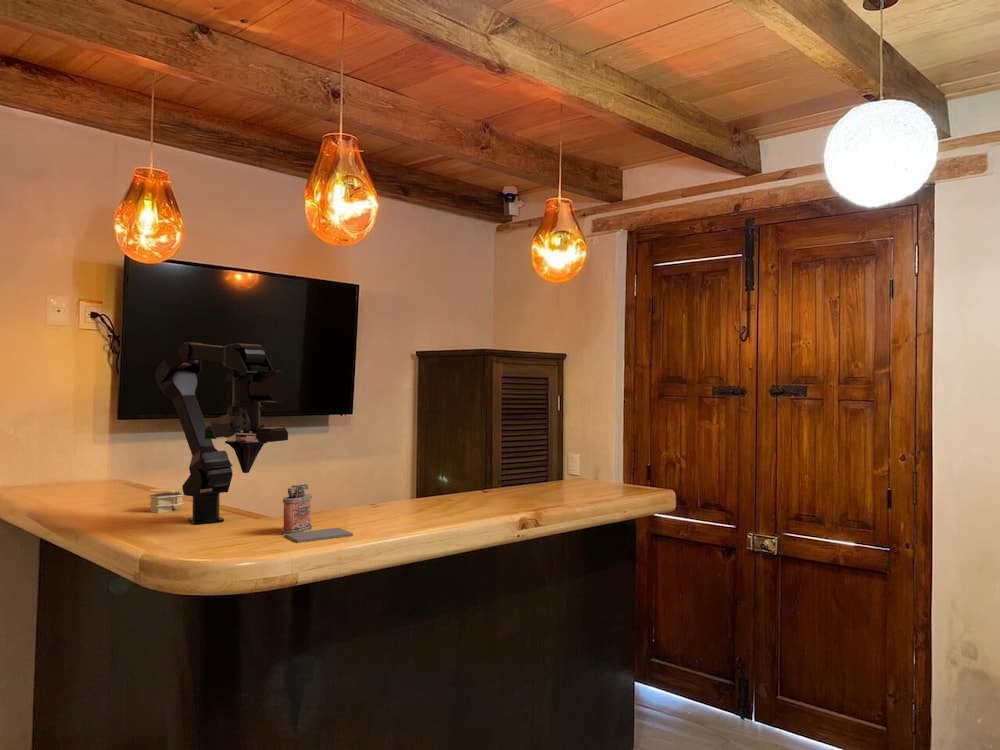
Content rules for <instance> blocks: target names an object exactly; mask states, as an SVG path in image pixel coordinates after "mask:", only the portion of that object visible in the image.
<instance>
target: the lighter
mask: <svg viewBox="0 0 1000 750" xmlns="http://www.w3.org/2000/svg"><path fill="white" fill-rule="evenodd" d="M306 490H307V491H308V490H309V484H308V483H301V484H292V485H291V487H287V494H288V496H287V497H283V498H282V503H283V529H282V535H283V534H290V533H298V532H304V531H307V530H308V531H311V530H312V523H311V518H312V517H311V513H312V511H311V509H312V507H311V506H312V505H311V504H312V497H313V495H312V494H311V493H305V492H306ZM310 529H311V530H310Z"/></svg>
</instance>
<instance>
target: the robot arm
mask: <svg viewBox="0 0 1000 750" xmlns="http://www.w3.org/2000/svg"><path fill="white" fill-rule="evenodd" d="M186 361H191V362H190V363H187V362H186ZM203 362H212V363H220V364H223V365H224V366H225V367H227V368H228V369H231V370H232V371H231V373H229V374H228V375H227V376H226V380H227V381H232V405H227V407H228V408H227V410H226V414H224V415H221V416H219V417H217V418H215V419H214V420H212V421H210V425H208V426H207V423H206V422H205V418H204V415H203V412H202V409H201V408H200V405H199V402H198V399H197V397H196V396H197V395H196V389H197V387H198V376H199V375H200V373H201V372H202V370H203V366H202V365H203V364H202V363H203ZM154 373H155V374H154V377H155V378H154V379H155V381H156V383H157V385H158V387H159V389H160V390H161V392H162V393H163V394H164V395H165V396H166V397H168V399H170V400H171V401H172V402H173V405H174V408H175V411H176V413H177V416H178V419H179V420H178V421H180V425H181V427H182V430H183V433H184V435H185V439H186V442H187V444H188V448H189V450H190V453H191V459H190V463H189V467H188V470H189V475H188V477H187V479H186V480H185V482H184V483H183V484H182V486H181V488H182V489H183V490H182V493H184V495H183V496H187V497H192V514H191V515H192V516H191V517H189V516H188V517H187V520H188V522H191V523H192V524H193V525H194V524H195V525H199V524H201V525H202V524H210V523H218V522H219V523H220V522H224V521H225V518H223V517H221V516H220V496H221V495H220V494H222V493H225V494H226V493H229V489H230V486H231V482H232V478H233V470H232V467H233V464H232V463H231V461H230V458H229V454H228V453H227V451H226V450H218V449H216V448H215V445H214V443H213V442H214V441H213V440H216V439H217V438H226V440H224V444H226V445H229V447H231V448H232V449H233V450H234V453H235V456H236V457H237V460H238V463H239V466H240V469H241V472H242V474H249V473H250V472H251V469H252V466H253V465H254V463H255V462H256V458H257V457H258V456H259V455H258V454H259V453H260V451H261V450H262V448H263V446H264V445H265V444H268V443H273V442H274V443H276V442H282V441H284V442H285V441H289V432H288V429H287V428H286V427H279V426H270V427H269V426H268V427H265V424H264V423H263V424H261V411H265V406H264V405H261V403H262V402H263V403H282V402H284V401H285V400H286V399H287V398H288V396H289V393H290V386H289V383H288V380H287V379H286V378H285V377H284V376H283V375H282V374H283V370H277V369H276V370H274V367H273V365H272V364H271V362H270V359H269V357H268V355H267V353H266V352H265V350H264V347H263V346H262V345H260V344H255V343H254V344H252V343H251V344H250V343H230V344H226V345H224V346H223V345H213V344H205V343H201V342H190V341H189V342H188V341H187V342H184V343H182V344H180V346H179V347H178V348H177V350H175V351H174V352H172V353H170V354H169V355H168V356H165V357H164V358H163V360H162V361H161V363H159V365H158V367H157V368H156V370H155V372H154Z"/></svg>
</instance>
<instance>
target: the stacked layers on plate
mask: <svg viewBox="0 0 1000 750" xmlns="http://www.w3.org/2000/svg"><path fill="white" fill-rule="evenodd" d="M181 490H182V491H183V489H182V487H173V486H172V487H171V486H170V487H160V488H153V489H149V491H152V492H158V493H156V494H150V495H148V497H149V498H150V503H148V506H150V512H152V513H157V514H161V513H167V512H173V510H174V508H175V507H174V506H179V505H183V504H184V503H185V502H184V501H183V496H185V495H184V493H183V492H180V491H181ZM170 491H171V492H170ZM172 491H175V492H172ZM159 492H161V493H159ZM162 492H163V493H162Z"/></svg>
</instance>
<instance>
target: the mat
mask: <svg viewBox="0 0 1000 750" xmlns="http://www.w3.org/2000/svg"><path fill="white" fill-rule="evenodd" d="M285 536H286V537H285ZM351 536H352V537H353V536H354V533H353V532H351V531H349V530H346V529H344V528H341V527H332V528H325V529H317V530H316V529H315V530H308V531H306V532H298V533H290V534H285V535H284V537H285V538H287V537H288V538H287V539H289V538H290V539H289V540H291V539H292V540H291V541H293V542H295V543H306V542H314V541H321V540H328V539H337V538H339V539H340V538H346V537H351Z"/></svg>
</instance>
